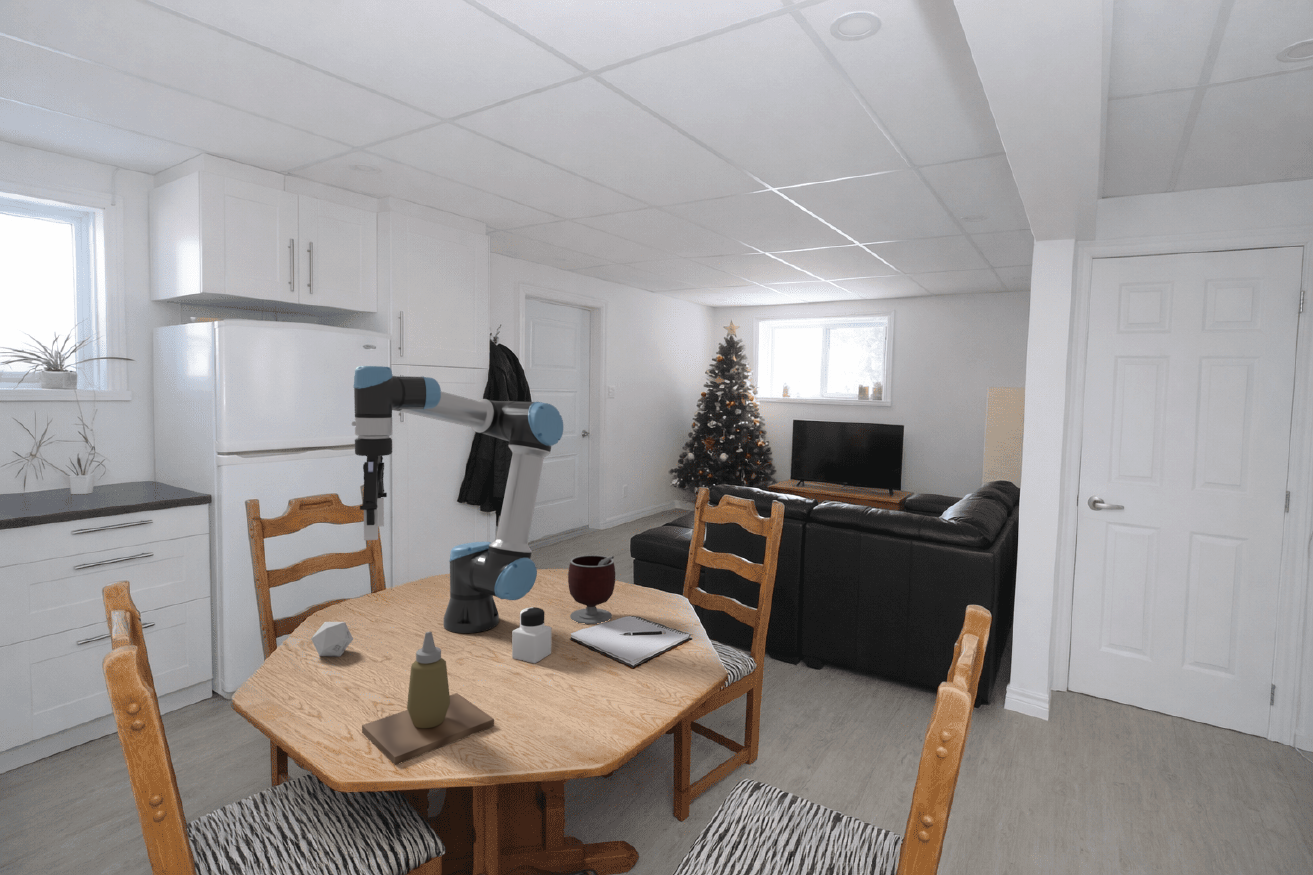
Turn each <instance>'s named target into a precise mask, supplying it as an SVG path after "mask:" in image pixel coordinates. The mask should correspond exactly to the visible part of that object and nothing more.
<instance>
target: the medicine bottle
mask: <svg viewBox="0 0 1313 875" xmlns="http://www.w3.org/2000/svg"><path fill="white" fill-rule="evenodd" d="M511 633H512V635H511V636H512V637H511V638H512V639H511V640H512V642H511V644H512V648H511V649H512V650H511V651H512V652H511V656H512V659H514V660H518V661H522V660H523V662H528V663H532V664H536V663H539V662H540V661H541V660H543V659H545V658H547V656H549V655H552V626H550V625H549V626H548V625H545V610H544V609H543V608H540V607H537V606H535V607H534V606H530V607H526V608H523V609H522V610H521V611H520V613H519V627H517V628H516V629H513V630H512V632H511Z"/></svg>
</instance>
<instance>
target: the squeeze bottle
mask: <svg viewBox="0 0 1313 875" xmlns="http://www.w3.org/2000/svg"><path fill="white" fill-rule="evenodd" d="M409 673H410V674H409V685H408V694H407V702H406V710H408V712H409V715H410V718H411V720H412V723H413V725H414V726H415V727H418V728H432V727H435V726H438V725H440V724H441V723H442V722H443V721H444V719H445V716H446V713H447V710H448V707H449V705H450V695H451V694H450V686H449V678H448V677H449V676H448V668H447V661H446V660H445V659H444V658H443V657H442V649H441V648H440V647H438V646H436V644H435V640H434V636H433V633H432V631H426V632H425V633H424V639H423V643H422V646H421V648H419V649H418V650H416V653H415V661H414V662H412V663H411V665H410V672H409Z"/></svg>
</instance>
